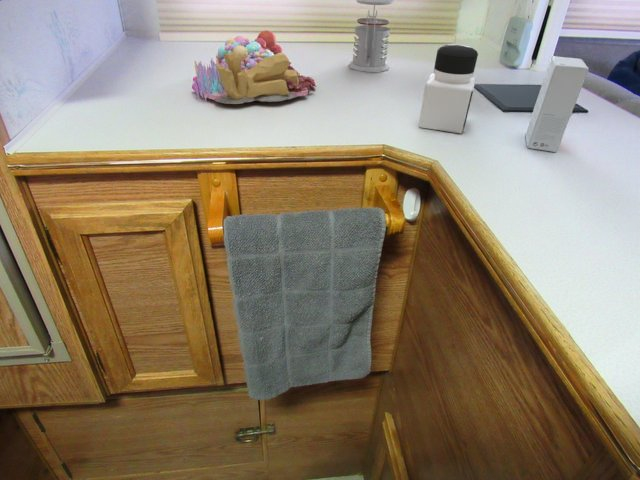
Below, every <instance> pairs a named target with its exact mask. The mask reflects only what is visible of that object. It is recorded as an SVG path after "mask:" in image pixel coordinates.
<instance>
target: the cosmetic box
mask: <svg viewBox="0 0 640 480" xmlns="http://www.w3.org/2000/svg"><path fill="white" fill-rule="evenodd" d="M589 70H590V67H588V66H587V64H586V63H585V61H584V60H583V58H575V57H567V56H556V55H552V56H551V57H550V60H549V63H548V66H547V69H546V72H545V75H544V78H543V81H542V83H541V85H542V86H541V89H540V92H539V95H538V98H537V101H536V104H535V107H534V110H533V112H531V113H532V114H531V116H530V119H529V122H528V125H527V128H526V131H525V140H526V147H527V148H528V149H533V150H539V151H544V152H545V151H546V152H551V153H557V152H558V150H559V146H560V145H561V142H562V139H563V137H564V134H565V132H566V129H567V127H568V124H569V121H570V119H571V116H572V114H573V112H572V111H573V109H574V106H575V104H576V103H577V101H578V99H579V96H580V93H581V92H582V91H581V90H582V88H583V85H584V83H585V80H586V78H587V75H588V73H589Z"/></svg>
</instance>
